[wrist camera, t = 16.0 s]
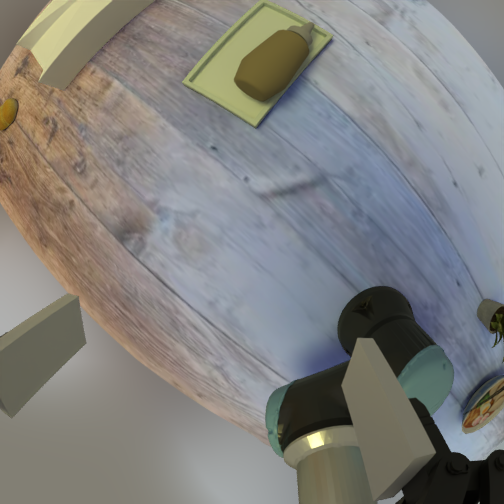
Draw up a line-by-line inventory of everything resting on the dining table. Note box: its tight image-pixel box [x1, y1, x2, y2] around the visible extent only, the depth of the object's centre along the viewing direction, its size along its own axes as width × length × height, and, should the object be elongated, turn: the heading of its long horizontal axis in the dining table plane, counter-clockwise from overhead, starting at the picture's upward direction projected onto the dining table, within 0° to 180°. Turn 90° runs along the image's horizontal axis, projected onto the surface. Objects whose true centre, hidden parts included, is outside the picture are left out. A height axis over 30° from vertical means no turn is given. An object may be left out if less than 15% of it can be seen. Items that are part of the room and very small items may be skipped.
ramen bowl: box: [462, 375, 504, 434], centre depth 48 cm, size 25×23×8 cm
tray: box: [182, 0, 333, 129], centre depth 37 cm, size 23×15×2 cm, turn 144°
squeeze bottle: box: [234, 22, 315, 102], centre depth 34 cm, size 8×8×18 cm
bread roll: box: [0, 98, 18, 130], centre depth 40 cm, size 8×9×4 cm
